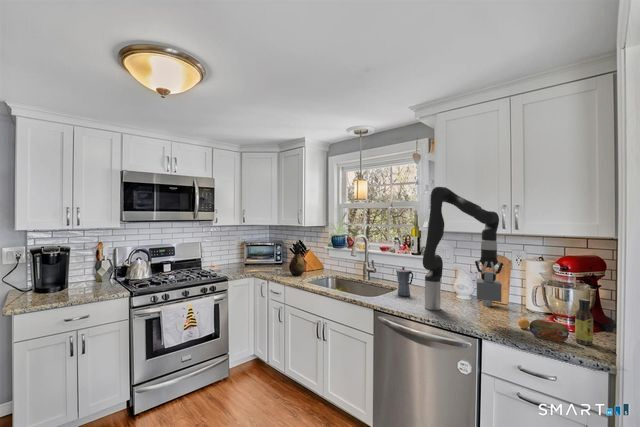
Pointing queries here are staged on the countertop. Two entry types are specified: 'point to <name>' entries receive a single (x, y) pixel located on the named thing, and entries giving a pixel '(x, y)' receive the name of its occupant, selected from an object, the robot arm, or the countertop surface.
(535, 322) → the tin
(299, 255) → the pineapple
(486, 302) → the house plant
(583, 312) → the sauce bottle
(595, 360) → the countertop surface
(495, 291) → the stacked grey blocks
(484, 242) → the robot arm
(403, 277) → the moka pot
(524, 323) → the ball
